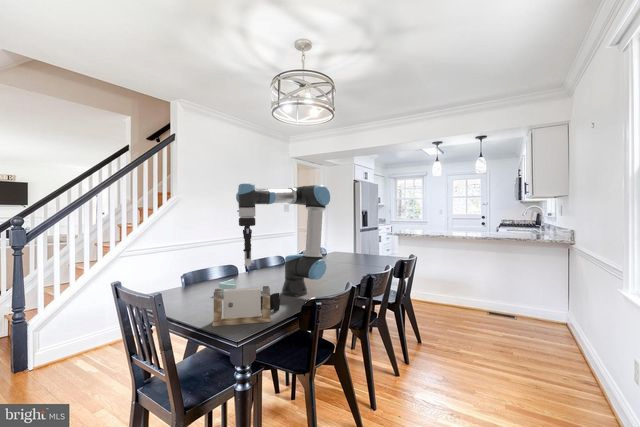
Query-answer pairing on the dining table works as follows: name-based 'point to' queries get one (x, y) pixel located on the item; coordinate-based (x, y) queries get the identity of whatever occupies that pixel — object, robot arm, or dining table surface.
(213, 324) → the hinge frame
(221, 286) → the right angle wall
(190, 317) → the dining table surface
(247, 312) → the cabinet door
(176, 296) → the dining table surface
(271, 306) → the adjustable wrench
